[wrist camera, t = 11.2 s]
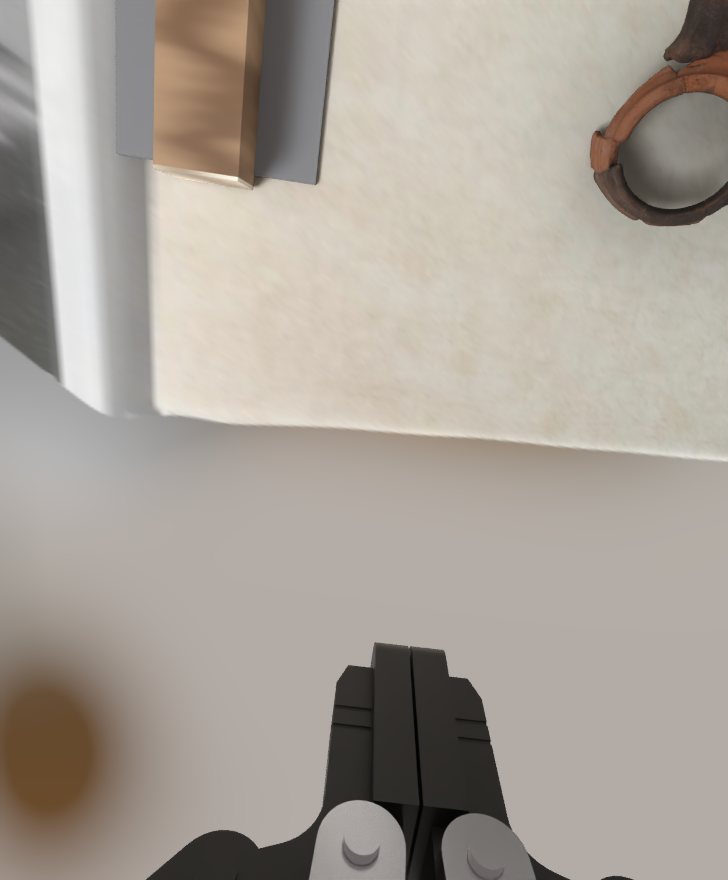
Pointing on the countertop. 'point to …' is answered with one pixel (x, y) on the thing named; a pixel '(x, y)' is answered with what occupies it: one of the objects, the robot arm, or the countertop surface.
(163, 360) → the countertop surface
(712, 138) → the countertop surface
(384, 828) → the robot arm
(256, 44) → the plain brown block
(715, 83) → the brown jagged ring
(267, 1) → the mat
